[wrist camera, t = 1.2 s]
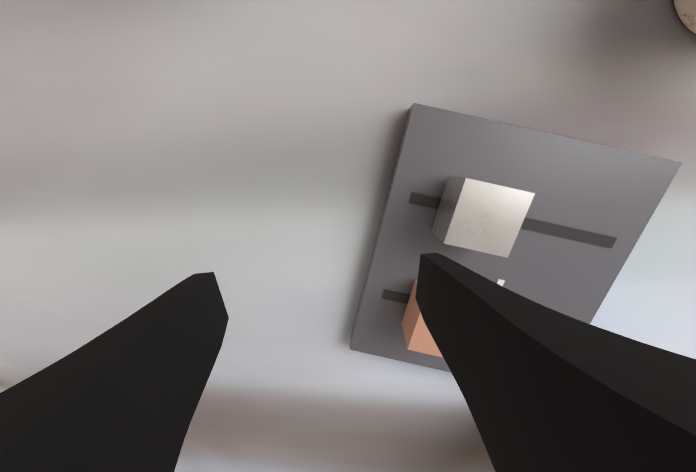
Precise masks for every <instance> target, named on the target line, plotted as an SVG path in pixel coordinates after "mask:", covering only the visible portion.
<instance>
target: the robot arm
mask: <svg viewBox="0 0 696 472" xmlns="http://www.w3.org/2000/svg"><path fill="white" fill-rule="evenodd" d="M415 299H416V302H417V304H418V307H419V310H420V312H421V315H422V317H423V320H424V322H425V324H426V326H427V328H428V330H429V332H430V334H431V336H432V338H433V339H434V341H435V343H436V345H437V347H438V349H439V351H440V352H441V354H442V356H443V358H444V360H445V362H446V363H447V365H448V367H449V369H450V371H451V373H452V374H453V376H454V378H455V380H456V382H457V384H458V386H459V388H460V390H461V392H462V394H463V396H464V398H465V400H466V402H467V405H468V407H469V409H470V412H471V414H472V416H473V418H474V421H475V423H476V425H477V428H478V430H479V432H480V435H481V437H482V440H483V442H484V444H485V447H486V449H487V452H488V454H489V457H490V459H491V462H492V464H493V466H494V469H495V471H496V472H696V359H693V358H689V357H686V356H683V355H679V354H676V353H673V352H669V351H666V350H663V349H660V348H657V347H654V346H651V345H648V344H644V343H641V342H638V341H635V340H633V339H630V338H627V337H624V336H621V335H618V334H615V333H613V332H610V331H607V330H604V329H601V328H598V327H596V326H593V325H590V324H588V323H585V322H582V321H580V320H577V319H575V318H572V317H570V316H567V315H565V314H562V313H560V312H558V311H555V310H553V309H550V308H548V307H545V306H543V305H541V304H539V303H536V302H534V301H532V300H530V299H528V298H526V297H523V296H521V295H519V294H517V293H515V292H513V291H511V290H509V289H507V288H505V287H503V286H501V285H499V284H497V283H495V282H493V281H491V280H489V279H487V278H485V277H483V276H481V275H480V274H478V273H476V272H474V271H472V270H470V269H468V268H466V267H465V266H463V265H461V264H459V263H457V262H455V261H453V260H451V259H450V258H448V257H446V256H444V255H441V254H439V253H425V254H421V255H420V263H419V271H418V279H417V287H416V296H415ZM228 318H229V317H228V314H227V311H226V308H225V305H224V302H223V299H222V296H221V293H220V290H219V287H218V284H217V281H216V278H215V275H214V272H210V273H198V274H193V275H192V276H190V277H188V278H186V279H185V280H183V281H182V282H180V283H178V284H177V285H175V286H174V287H172V288H171V289H169V290H168V291H166V292H165V293H163V294H162V295H161V296H159V297H158V298H156V299H155V300H153V301H152V302H150V303H149V304H147V305H146V306H144V307H143V308H141V309H140V310H138V311H137V312H135V313H134V314H132V315H131V316H129V317H128V318H126V319H125V320H123V321H122V322H120V323H118V324H117V325H115V326H114V327H112V328H111V329H109V330H107V331H106V332H104V333H103V334H101V335H100V336H98V337H96V338H95V339H93V340H92V341H90V342H89V343H87V344H85V345H84V346H82V347H81V348H79V349H77V350H76V351H74V352H72V353H71V354H69V355H67V356H65V357H64V358H62V359H60V360H59V361H57V362H55V363H54V364H52V365H50V366H48V367H46V368H45V369H43V370H41V371H39V372H38V373H36V374H34V375H32V376H30V377H29V378H27V379H25V380H23V381H22V382H20V383H18V384H16V385H14V386H12V387H11V388H9V389H7V390H5V391H3V392H1V393H0V472H174V470H175V467H176V464H177V460H178V457H179V454H180V451H181V448H182V444H183V441H184V438H185V435H186V433H187V430H188V427H189V425H190V422H191V419H192V417H193V414H194V412H195V410H196V407H197V405H198V402H199V400H200V397H201V395H202V393H203V390H204V388H205V385H206V383H207V380H208V378H209V376H210V373H211V371H212V368H213V366H214V363H215V361H216V358H217V356H218V353H219V351H220V348H221V345H222V342H223V338H224V335H225V331H226V327H227V323H228Z"/></svg>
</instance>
